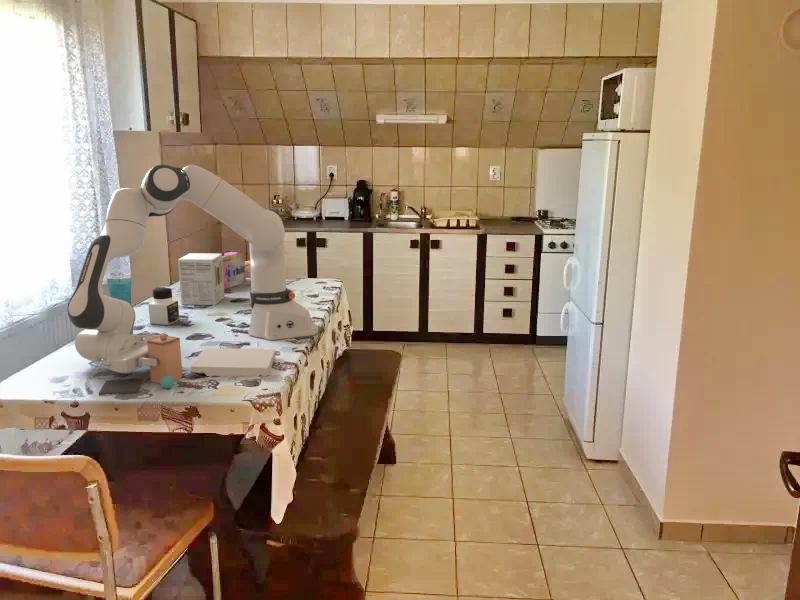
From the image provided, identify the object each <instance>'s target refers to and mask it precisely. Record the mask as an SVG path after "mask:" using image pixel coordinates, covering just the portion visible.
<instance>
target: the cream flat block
mask: <svg viewBox="0 0 800 600" xmlns="http://www.w3.org/2000/svg"><path fill="white" fill-rule="evenodd" d="M275 358H276V349H272V348H269V349H267V348H234V347H233V348H231V347H230V348H225V347H223V348H221V347H220V348H219V347H204V348H203V350H202V351H201V352H200V354H199V355H198V356H197V357H196V359H195V360H194V361H193V363H192V365H191V366H190V372H191V373H203V374H204V375H206V377H207V376H211V377H215V376H217V377H220V376H228V377H233V376H234V377H236V378H237V377H243V378H244V377H267V376H269V374H270V371H271V369H272V367H273V364H274V361H275Z"/></svg>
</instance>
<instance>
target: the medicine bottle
mask: <svg viewBox="0 0 800 600" xmlns="http://www.w3.org/2000/svg"><path fill="white" fill-rule="evenodd" d="M172 290H173V289H172V288H171V287H168V286H158V287H155V288H153V290H152V298H153V301H151V302H149V303H148V305H147V306H148V318H149V323H150V325H159V326H170V325H172V324H173V323H176V322H178V321H180V311H179V310H180V308H179V301H178V299H173V291H172Z"/></svg>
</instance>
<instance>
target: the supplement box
mask: <svg viewBox="0 0 800 600" xmlns="http://www.w3.org/2000/svg"><path fill="white" fill-rule="evenodd" d="M177 261H178V262H177V264H178V277H179V278H178V279H179V290H180V291H179V292H180V293H179V294H180V302H181V303H180V304H181V305H196V306H197V305H199V306H200V305H202V306H203V305H204V306H205V305H206V306H215V305H216V304H218V303H219V302H220V301H221V300H222V299H223V298H225V297H226V296H225V289H224V280H223V263H222V254H218V253H212V252H211V253H203V252H202V253H197V252H193V253H192V252H191V253H190V252H189V253H187V254H186V255H183V256H182V257H180V258H178V260H177Z"/></svg>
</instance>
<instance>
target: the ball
mask: <svg viewBox="0 0 800 600" xmlns="http://www.w3.org/2000/svg"><path fill="white" fill-rule="evenodd" d="M159 384H160V385H161V387H162V388H163V389H166V390H167V389H168V390H169V389H170V388H172V387H173V386H174V384H175V381H174V380H173V378H172V377H170V376H164V377H163V378H162V379H161V381H160V383H159Z"/></svg>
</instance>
